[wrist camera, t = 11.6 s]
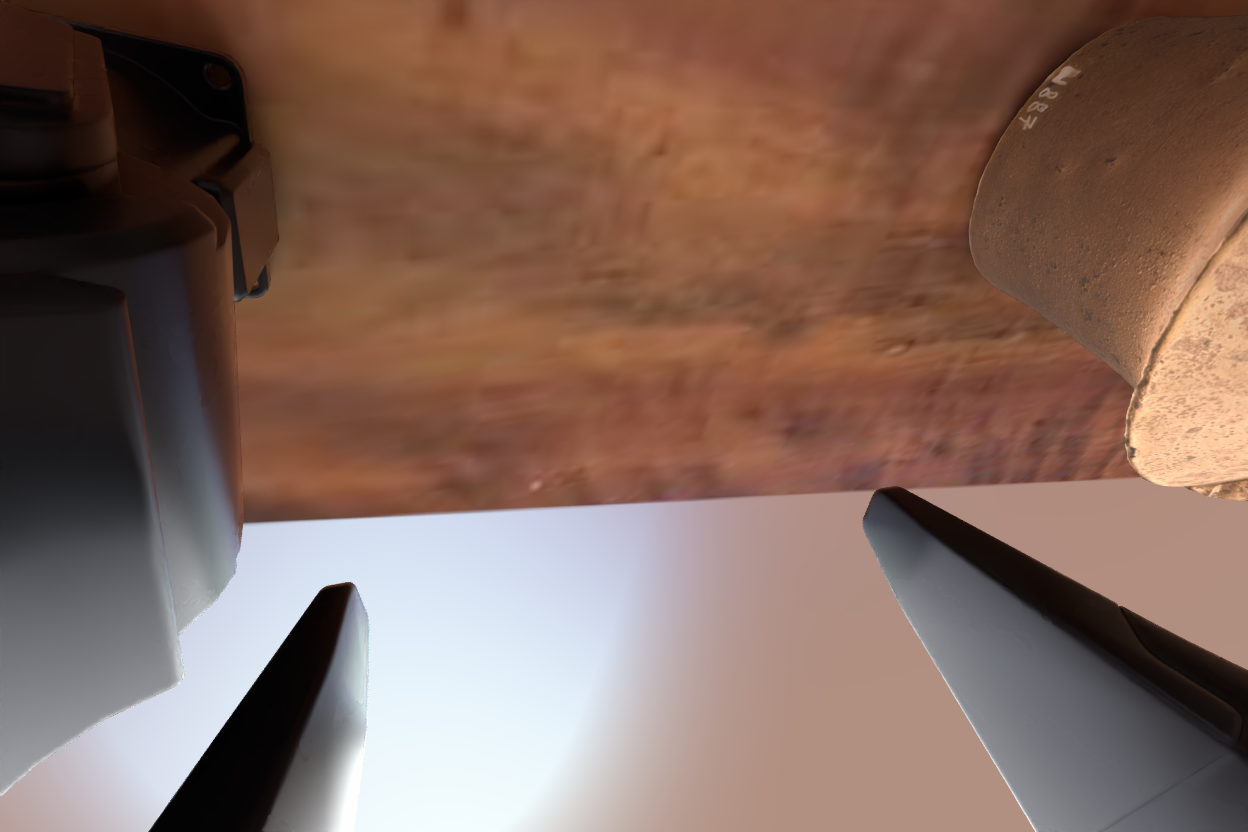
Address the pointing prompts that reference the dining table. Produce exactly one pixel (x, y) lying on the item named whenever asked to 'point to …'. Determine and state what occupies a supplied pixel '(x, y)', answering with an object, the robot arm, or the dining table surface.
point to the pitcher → (1139, 232)
